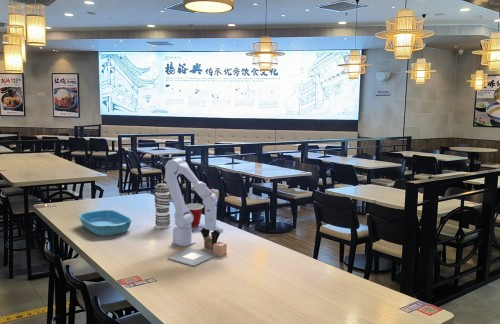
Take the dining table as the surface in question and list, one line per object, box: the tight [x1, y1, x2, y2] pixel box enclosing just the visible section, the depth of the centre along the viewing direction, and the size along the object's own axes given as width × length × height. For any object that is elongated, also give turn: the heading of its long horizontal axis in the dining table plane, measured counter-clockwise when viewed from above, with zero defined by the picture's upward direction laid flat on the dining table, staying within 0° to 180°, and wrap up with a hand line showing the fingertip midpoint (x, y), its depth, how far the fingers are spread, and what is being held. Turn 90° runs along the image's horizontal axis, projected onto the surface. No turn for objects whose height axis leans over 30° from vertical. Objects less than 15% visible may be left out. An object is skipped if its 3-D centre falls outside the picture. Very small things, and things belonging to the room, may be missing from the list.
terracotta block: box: [212, 241, 228, 257], centre depth 204 cm, size 4×4×5 cm
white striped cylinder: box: [154, 182, 171, 229], centre depth 248 cm, size 9×9×25 cm
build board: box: [167, 248, 217, 268], centre depth 198 cm, size 16×16×1 cm
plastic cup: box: [185, 203, 204, 228], centre depth 251 cm, size 11×11×12 cm
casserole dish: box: [78, 209, 133, 237], centre depth 243 cm, size 37×22×7 cm, turn 41°
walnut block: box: [203, 234, 213, 250], centre depth 214 cm, size 4×4×5 cm
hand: (210, 244), depth 214 cm, fingers closed on walnut block, 4 cm apart
